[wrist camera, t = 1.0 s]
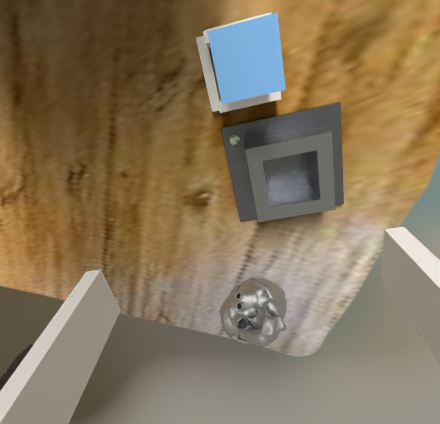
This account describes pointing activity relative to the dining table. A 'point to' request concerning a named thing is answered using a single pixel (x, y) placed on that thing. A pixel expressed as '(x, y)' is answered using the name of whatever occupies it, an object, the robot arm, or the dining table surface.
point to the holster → (211, 81)
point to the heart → (254, 312)
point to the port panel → (286, 163)
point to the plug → (248, 58)
